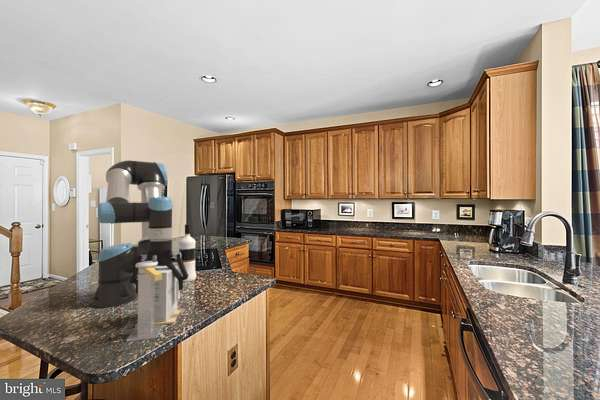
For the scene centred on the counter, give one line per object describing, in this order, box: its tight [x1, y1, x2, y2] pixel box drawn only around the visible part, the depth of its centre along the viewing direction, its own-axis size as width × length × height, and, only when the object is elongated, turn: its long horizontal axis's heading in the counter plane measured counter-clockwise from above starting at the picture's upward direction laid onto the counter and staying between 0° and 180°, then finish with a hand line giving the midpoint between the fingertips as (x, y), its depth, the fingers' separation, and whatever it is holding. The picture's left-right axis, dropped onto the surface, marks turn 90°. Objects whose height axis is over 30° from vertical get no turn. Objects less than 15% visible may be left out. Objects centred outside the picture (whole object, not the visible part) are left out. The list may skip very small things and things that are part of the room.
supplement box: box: [154, 265, 179, 322], centre depth 92 cm, size 10×9×17 cm
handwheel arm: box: [136, 255, 162, 281], centre depth 77 cm, size 6×16×5 cm, turn 43°
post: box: [126, 274, 165, 343], centre depth 81 cm, size 8×8×19 cm
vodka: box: [178, 223, 197, 283], centre depth 137 cm, size 9×9×30 cm
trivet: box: [134, 307, 182, 329], centre depth 91 cm, size 12×12×1 cm
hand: (159, 300), depth 91 cm, fingers open, 11 cm apart
